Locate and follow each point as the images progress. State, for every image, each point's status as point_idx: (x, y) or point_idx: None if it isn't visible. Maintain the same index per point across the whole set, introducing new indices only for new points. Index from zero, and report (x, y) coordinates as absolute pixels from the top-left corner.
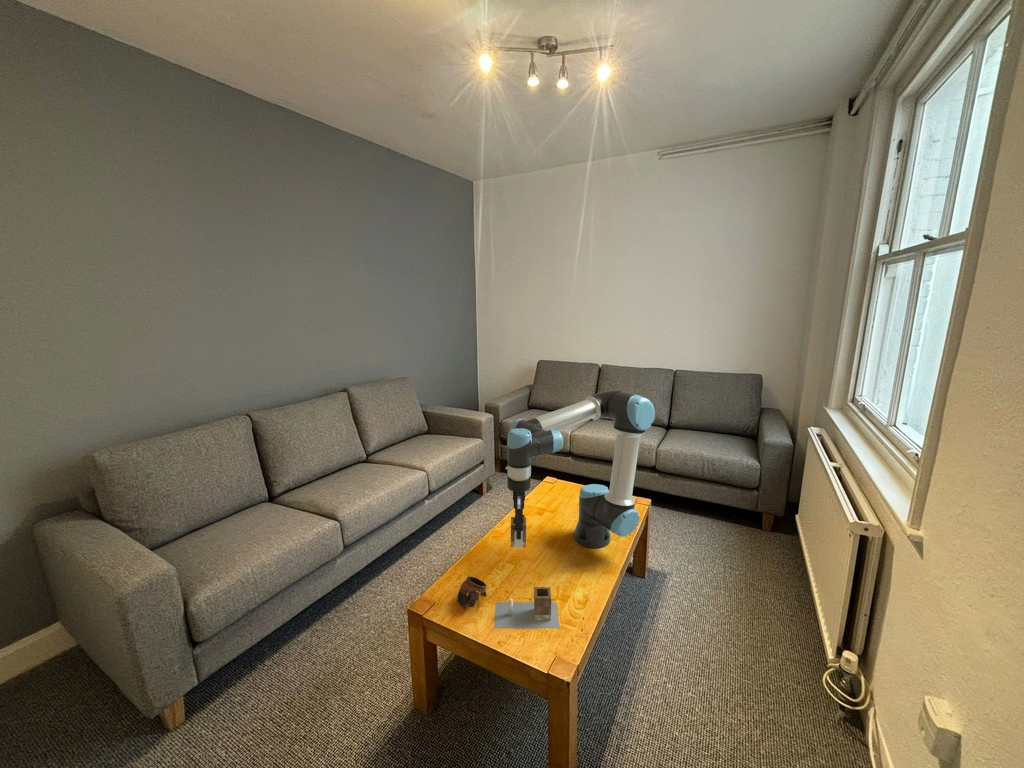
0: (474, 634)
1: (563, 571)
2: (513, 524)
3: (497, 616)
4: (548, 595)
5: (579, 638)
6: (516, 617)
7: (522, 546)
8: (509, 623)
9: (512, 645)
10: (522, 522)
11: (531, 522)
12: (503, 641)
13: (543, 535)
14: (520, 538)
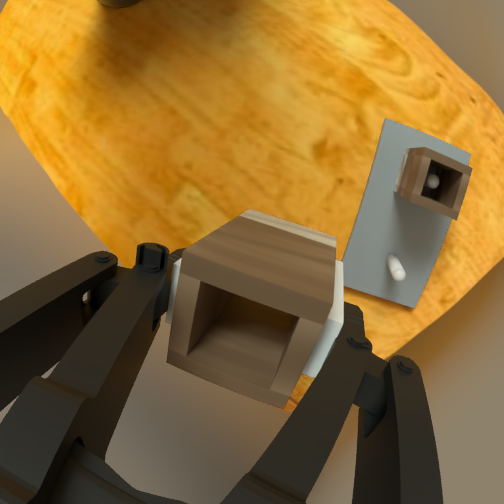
0: (401, 343)
1: (246, 50)
2: (282, 392)
3: (384, 292)
4: (459, 171)
5: (492, 120)
6: (406, 248)
7: (342, 265)
8: (417, 271)
9: (462, 277)
10: (432, 431)
11: (49, 108)
12: (445, 292)
13: (92, 82)
14: (360, 315)
